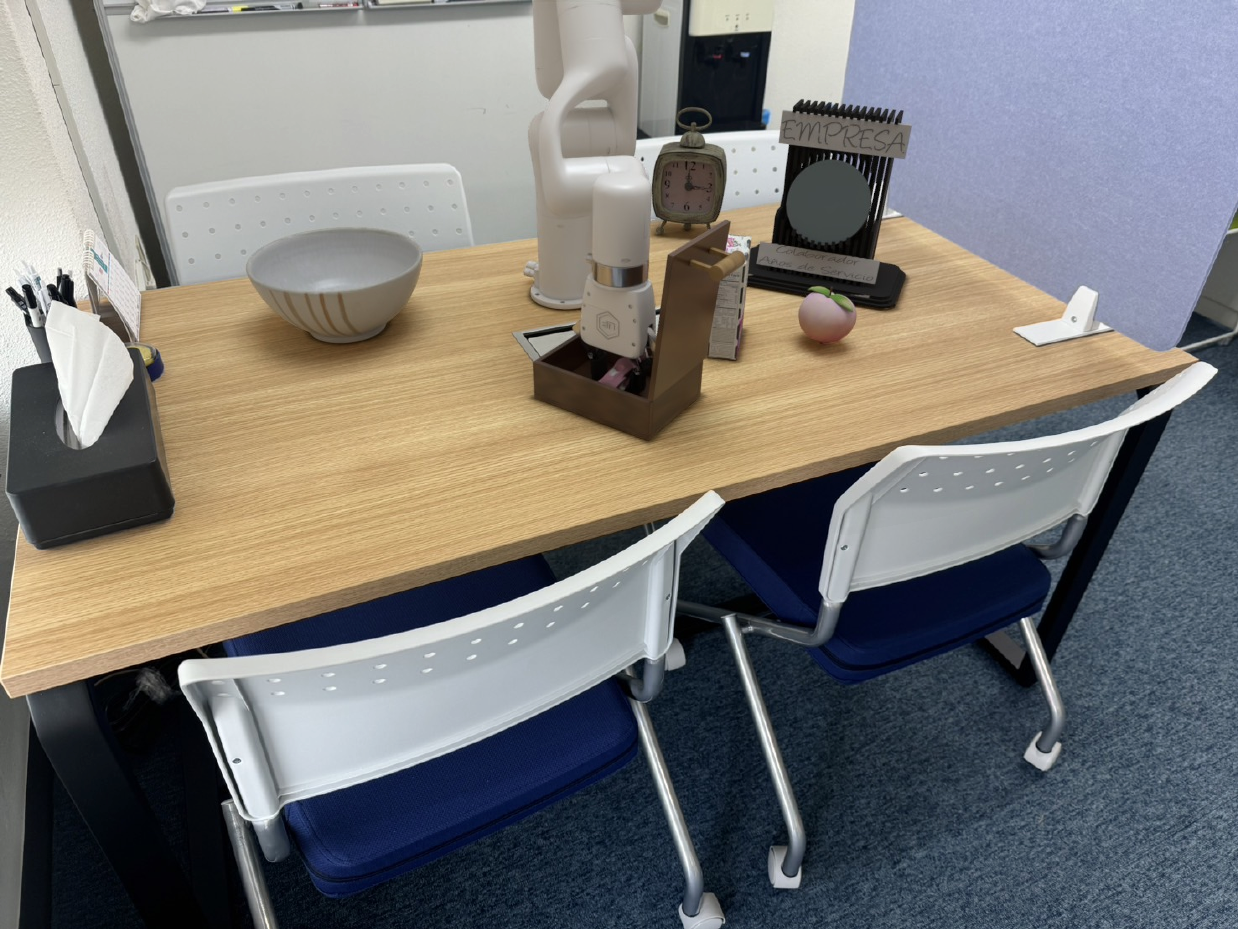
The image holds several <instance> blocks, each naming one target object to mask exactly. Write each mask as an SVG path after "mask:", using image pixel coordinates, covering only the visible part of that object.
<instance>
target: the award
mask: <svg viewBox="0 0 1238 929" xmlns="http://www.w3.org/2000/svg"><path fill="white" fill-rule="evenodd" d="M811 102H812V103H811ZM839 105H840V104H839V102H835V103H834V104H833V102H832V101H829V102H826V101H825V100H821V101H820V102H819V100H814V101H812V100H811V99H807V100H806V101H805V99H804V98H800V99H799V100H798V101H797V102H796V103H795V104H794V105H793V106H792V110H790V109H789V110H788V109H782V112H781V119H780V128H779V137H778V144H782V145H783V144H784V145H788V149H787V155H786V165H785V169H784V170H785V171H784V181H783V191H782V195H781V201H780V206H779V207H778V208H777V209H776V212H775V215H774V219H773V228H772V236H771V242H767V241H760V242H759V243H758V244H757V245H756V246H751V248H750V258H749V268H748V278H747V286H750V287H755V288H761V289H766V290H772V291H778V292H784V293H788V294H794V295H799V296H804V297H807V296H808V295H809V294H810V293H812V292H814V291H813V290H808V289H809V288H811V287H816V286H820V287H825V288H827V289H828V290H830V288H831V287H833V289H832V293H834V294H839V295H843V296H845V297H847V298H848V299H849V300H850V301H851V302H852V303H853V304H854V306H860V307H866V308H871V309H876V310H888V309H893V308H894V307H896V304H897V302H898V300H899V296H900V294H901V291H902V288H903V285H904V283H905V280H906V277H907V273H906V272H905V271H903V270H902V269H901V267H900V266H899V265H896V264H894V263H889V262H883V261H881V260H877V259H875V255H876V250H877V246H878V241H879V236H880V230H881V227H882V226H881V225H882V220H883V215H884V210H885V206H886V202H887V201H886V200H887V197H888V196H887V195H888V191H889V185H890V181H891V176H892V173H893V172H892V171H893V166H894V161H895V159H898V160H899V159H901V160H906V156H907V152H908V147H909V142H910V138H911V134H912V133H911V132H912V129H913V124H909V123H902V121H903V117H904V112H905V111H904V109H903V110H902V109H900V110H899V112H898V113H897V115H896V112H897V109H893V108H892V109H891V112H890V113H889V110H890V109H889V108H885V109H884V110H883V112H882V109H883V108H882V107H876V109H875V106H871V107H870V108H869V109H868V105H864V106H863V107H862V108H861V105H858V104H857V105H856V106H855V107H854V104H849V105H848V106H847V105H846V103H842V104H841V105H840V106H839ZM867 110H868V111H867ZM845 156H846V157H845ZM844 160H845V161H844ZM858 161H859V164H858Z"/></svg>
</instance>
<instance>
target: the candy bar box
mask: <svg viewBox="0 0 1238 929" xmlns="http://www.w3.org/2000/svg"><path fill="white" fill-rule="evenodd" d="M752 240H753V238H752V236H749V235H736V234H733V235H732V234H730V233H729V234H728V240H727V245H726V251H725V252H728V253H733V252H734V251H737V250H738V251H741V252H743V253H744V255H745V258H746V261H745V263H744V265H742V266H741V267H739V268H738V269H737V270H735V271H734V272H732V273H731V274H729V275H728V276H727V277H725V278H724V279H722V280H721V281H720V284H719V290H718V295H717V301H716V306H715V312H714V317H713V323H712V329H711V334H710V340H709V345H708V351H707V357H708V358H711V359H720V360H729V361H737V359H738V354H739V350H740V344H741V340H742V334H743V330H744V317H745V308H746V299H747V298H746V297H747V286H748V285H747V278H748V268H749V258H750V248H752Z"/></svg>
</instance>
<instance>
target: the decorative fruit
mask: <svg viewBox="0 0 1238 929" xmlns="http://www.w3.org/2000/svg"><path fill="white" fill-rule="evenodd" d="M832 289H833V287H831V288H830V290H828V289H827V288H825V287H820V286H816V287H811V288H809V289H808V290H813V291H814V292H812V293H810V294H809V295H808V296H805V298H804V299H803V300H802V302H801V303H800V304H799V308H798V313H797V317H798V322H799V326H800V329H801V330H802V332H803V333H804V334H805V335H806V336H807V337H808V338H810V339H812V340H814V341H817V342H819V343H820V345H828V344H834V343H837V342H839V341H841V340H843V339H844V338H845V337H847V336H848V335H849V334H850V333H851V332H852V330H853V329H854V327H855V325H856V322H857V316H858V315H857V309H856V305H854V304H853V303H852V302H851V301H850V300H849V299H848V298H847V297H845V296H843V295H839V294H834V293H832Z"/></svg>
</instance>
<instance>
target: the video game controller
mask: <svg viewBox="0 0 1238 929" xmlns="http://www.w3.org/2000/svg"><path fill="white" fill-rule="evenodd" d="M639 360H640V357H639ZM640 363H641V361H640ZM632 371H633V368H632V365H631V361H630V358H627V357H623V358H621V359H619V360H618V361H617V362H616V363H615V365H614V367H613V368H612V369H611V370H609V371H608V372H607V374H606V375H605V376H604V377H603V378H602V379H601V380H599V381H598V382H600V383H603V384H606V385H609V386H612V387H615V388H617V389H620V390H623V391H624V390H626V389H628V388H629V375H630V373H631V372H632Z"/></svg>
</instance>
